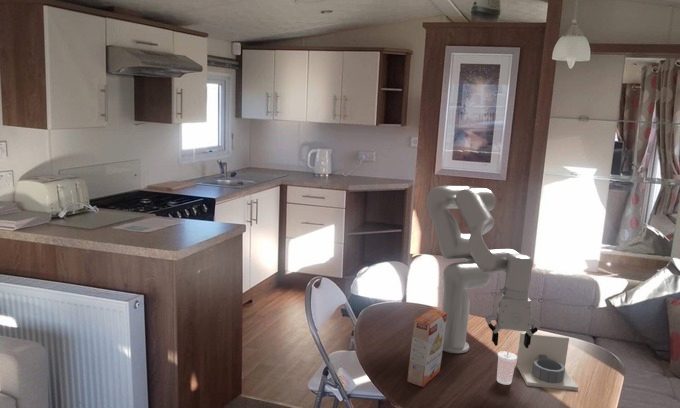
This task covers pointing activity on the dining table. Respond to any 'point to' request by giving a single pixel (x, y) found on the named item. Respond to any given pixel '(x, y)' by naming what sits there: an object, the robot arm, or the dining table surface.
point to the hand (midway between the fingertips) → (510, 345)
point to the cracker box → (426, 347)
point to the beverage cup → (506, 366)
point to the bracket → (545, 362)
